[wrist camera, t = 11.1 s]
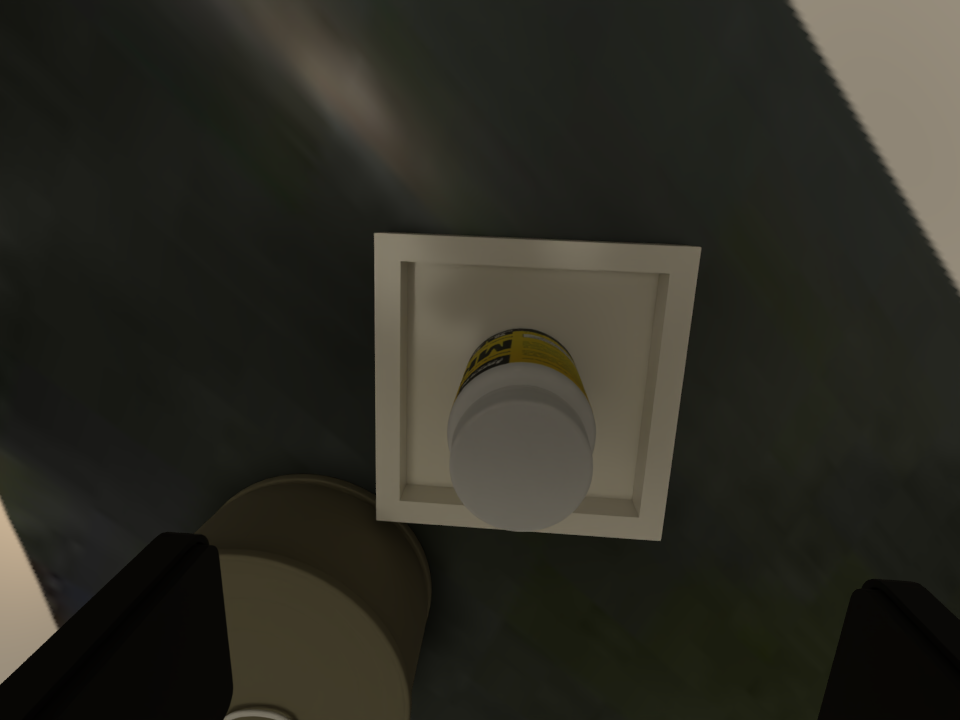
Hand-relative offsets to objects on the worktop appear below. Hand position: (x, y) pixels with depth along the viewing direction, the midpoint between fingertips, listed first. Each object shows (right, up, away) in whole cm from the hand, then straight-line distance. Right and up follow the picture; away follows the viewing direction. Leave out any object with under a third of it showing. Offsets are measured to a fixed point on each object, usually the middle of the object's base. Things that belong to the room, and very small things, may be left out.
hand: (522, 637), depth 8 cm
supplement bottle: (+1, +3, +15) cm, 16 cm away
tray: (+1, +3, +16) cm, 16 cm away
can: (-9, -7, +19) cm, 22 cm away
